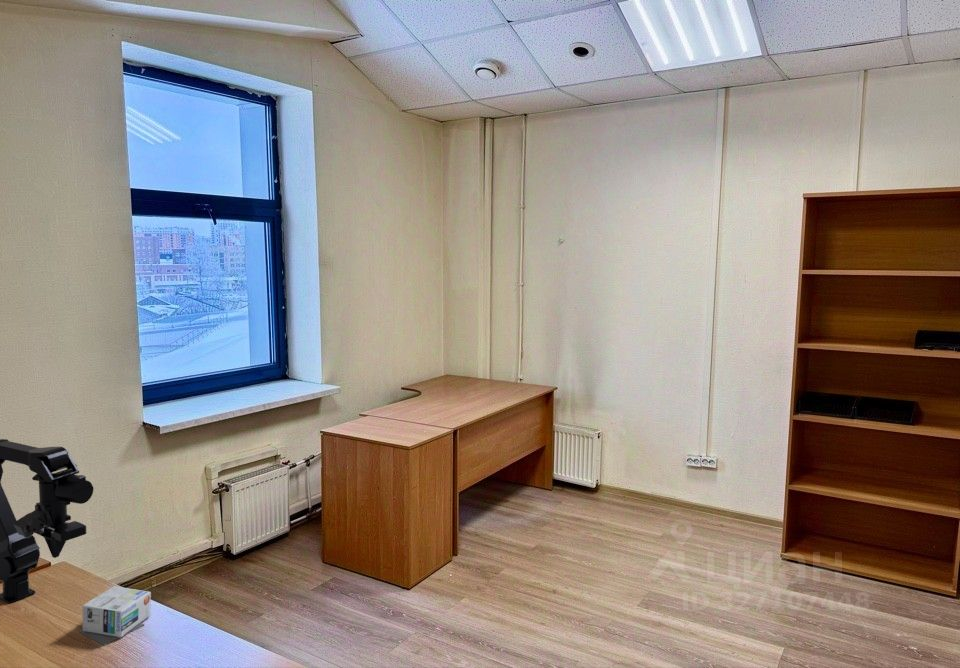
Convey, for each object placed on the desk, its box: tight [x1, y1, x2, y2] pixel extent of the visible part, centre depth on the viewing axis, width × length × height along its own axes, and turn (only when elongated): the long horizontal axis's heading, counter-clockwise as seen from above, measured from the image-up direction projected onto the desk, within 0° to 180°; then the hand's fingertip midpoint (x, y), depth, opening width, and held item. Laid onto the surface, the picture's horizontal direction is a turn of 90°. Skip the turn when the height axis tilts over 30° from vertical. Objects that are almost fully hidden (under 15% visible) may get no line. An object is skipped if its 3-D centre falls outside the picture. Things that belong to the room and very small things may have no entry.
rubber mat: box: [79, 622, 145, 646], centre depth 162 cm, size 10×10×1 cm
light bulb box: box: [82, 585, 152, 638], centre depth 163 cm, size 11×7×11 cm
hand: (55, 557), depth 170 cm, fingers closed
